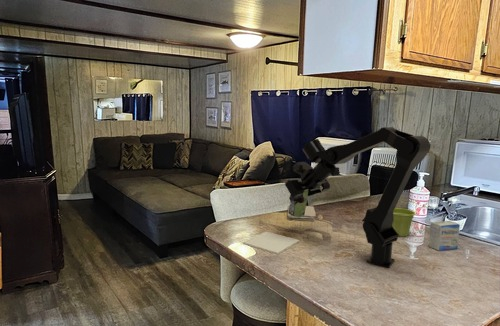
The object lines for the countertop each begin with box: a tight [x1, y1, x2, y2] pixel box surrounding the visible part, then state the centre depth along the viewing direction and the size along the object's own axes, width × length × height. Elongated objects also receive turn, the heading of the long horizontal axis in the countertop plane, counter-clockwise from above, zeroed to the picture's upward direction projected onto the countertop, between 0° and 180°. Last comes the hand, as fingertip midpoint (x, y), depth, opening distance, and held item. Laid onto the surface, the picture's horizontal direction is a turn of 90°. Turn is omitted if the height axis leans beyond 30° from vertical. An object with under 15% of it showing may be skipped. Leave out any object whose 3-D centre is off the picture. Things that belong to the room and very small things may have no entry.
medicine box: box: [428, 220, 461, 252], centre depth 114 cm, size 8×4×9 cm, turn 105°
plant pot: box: [392, 207, 416, 237], centre depth 127 cm, size 9×9×9 cm
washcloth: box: [287, 205, 317, 222], centre depth 150 cm, size 12×18×3 cm, turn 175°
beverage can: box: [288, 190, 309, 218], centre depth 127 cm, size 6×7×12 cm
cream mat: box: [242, 231, 300, 255], centre depth 117 cm, size 14×14×1 cm
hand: (295, 198), depth 128 cm, fingers closed on beverage can, 6 cm apart
